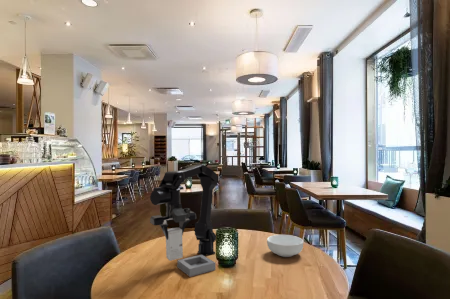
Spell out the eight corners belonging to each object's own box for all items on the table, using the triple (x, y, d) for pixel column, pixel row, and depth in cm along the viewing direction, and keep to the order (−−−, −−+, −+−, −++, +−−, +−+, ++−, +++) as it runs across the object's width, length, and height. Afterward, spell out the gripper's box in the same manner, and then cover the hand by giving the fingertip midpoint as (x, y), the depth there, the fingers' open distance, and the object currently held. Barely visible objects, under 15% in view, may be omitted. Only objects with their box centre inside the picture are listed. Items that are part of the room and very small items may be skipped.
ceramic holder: (201, 261, 129) (201, 254, 129) (215, 269, 119) (215, 262, 119) (177, 267, 122) (177, 260, 122) (189, 276, 112) (189, 269, 112)
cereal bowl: (263, 257, 132) (263, 242, 132) (271, 247, 148) (271, 233, 148) (301, 262, 126) (300, 246, 126) (305, 250, 141) (305, 236, 142)
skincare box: (169, 261, 118) (168, 232, 118) (165, 257, 122) (164, 229, 121) (183, 257, 121) (182, 229, 121) (179, 254, 125) (178, 226, 125)
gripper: (158, 206, 110) (159, 247, 110) (201, 201, 120) (202, 238, 120) (149, 202, 119) (150, 240, 119) (190, 198, 129) (190, 232, 129)
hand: (174, 238), depth 121 cm, fingers closed on skincare box, 6 cm apart
